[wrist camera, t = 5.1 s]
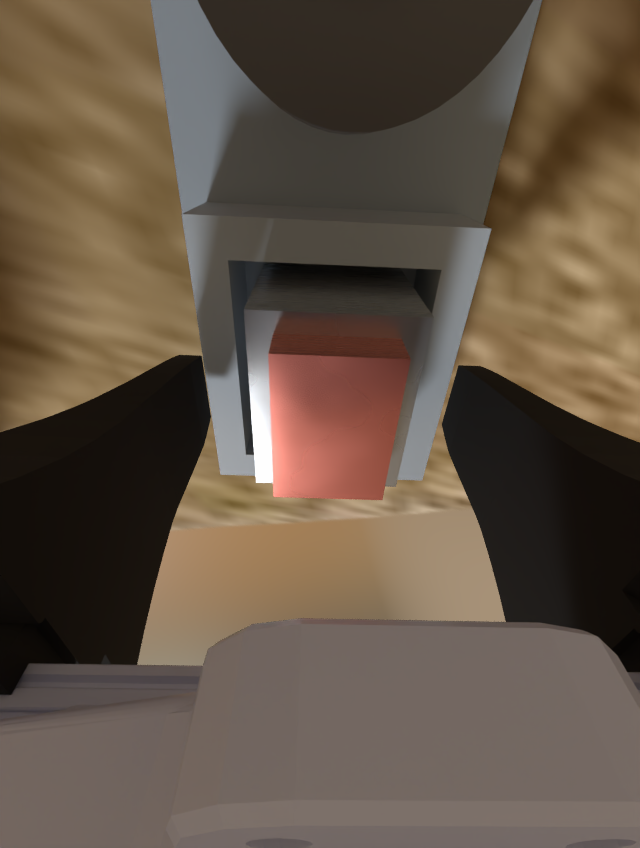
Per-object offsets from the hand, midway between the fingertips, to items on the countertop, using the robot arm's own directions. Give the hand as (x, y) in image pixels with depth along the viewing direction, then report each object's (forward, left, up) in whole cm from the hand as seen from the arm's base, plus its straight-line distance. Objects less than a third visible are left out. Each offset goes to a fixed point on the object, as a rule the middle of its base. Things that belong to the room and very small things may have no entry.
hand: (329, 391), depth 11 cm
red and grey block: (0, 0, -3) cm, 3 cm away
